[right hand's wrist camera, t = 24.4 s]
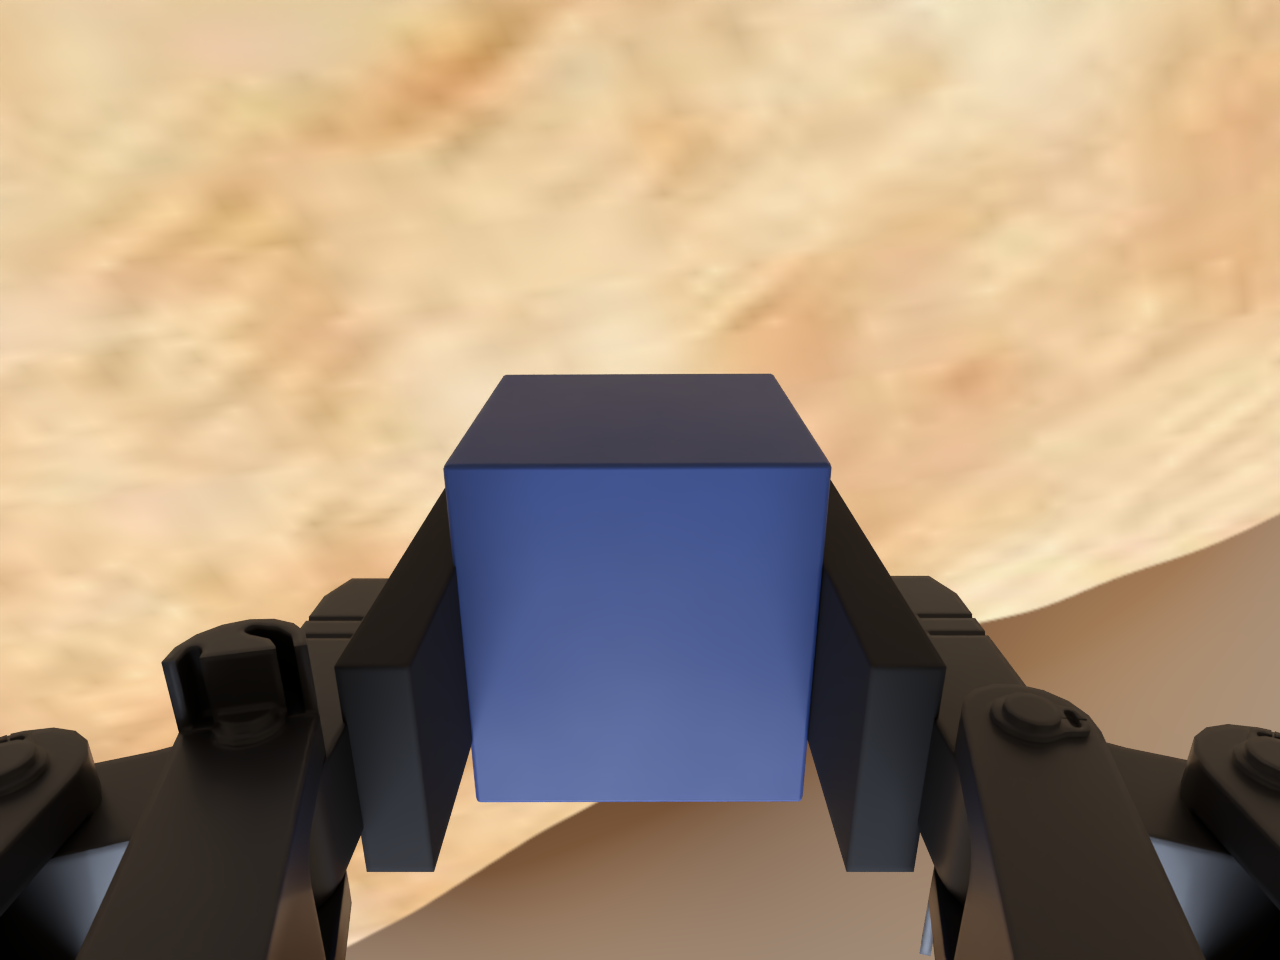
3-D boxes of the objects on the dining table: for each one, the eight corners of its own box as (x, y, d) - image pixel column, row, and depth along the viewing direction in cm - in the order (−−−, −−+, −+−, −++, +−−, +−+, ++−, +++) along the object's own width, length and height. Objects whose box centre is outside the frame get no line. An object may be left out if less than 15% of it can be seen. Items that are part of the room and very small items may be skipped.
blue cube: (520, 631, 16) (475, 804, 11) (503, 373, 14) (441, 465, 10) (759, 630, 16) (803, 803, 11) (773, 373, 14) (832, 464, 10)
